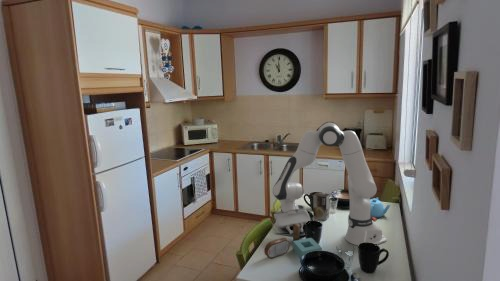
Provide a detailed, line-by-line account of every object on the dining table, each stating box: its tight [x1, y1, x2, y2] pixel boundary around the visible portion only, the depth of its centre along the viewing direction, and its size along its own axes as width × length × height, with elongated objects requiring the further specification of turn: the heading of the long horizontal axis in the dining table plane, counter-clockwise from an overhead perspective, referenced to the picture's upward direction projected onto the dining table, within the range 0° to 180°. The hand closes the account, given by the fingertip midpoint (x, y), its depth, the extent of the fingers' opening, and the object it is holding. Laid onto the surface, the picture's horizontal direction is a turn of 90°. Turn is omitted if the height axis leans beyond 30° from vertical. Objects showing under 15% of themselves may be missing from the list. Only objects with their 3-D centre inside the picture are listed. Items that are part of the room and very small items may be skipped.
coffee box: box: [312, 191, 331, 221], centre depth 207 cm, size 9×6×16 cm
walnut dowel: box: [292, 224, 301, 242], centre depth 177 cm, size 4×4×10 cm
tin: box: [263, 237, 291, 259], centre depth 164 cm, size 15×3×8 cm, turn 121°
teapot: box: [370, 197, 391, 219], centre depth 211 cm, size 15×15×11 cm
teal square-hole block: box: [292, 237, 323, 259], centre depth 166 cm, size 11×11×5 cm
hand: (296, 233), depth 177 cm, fingers open, 5 cm apart
